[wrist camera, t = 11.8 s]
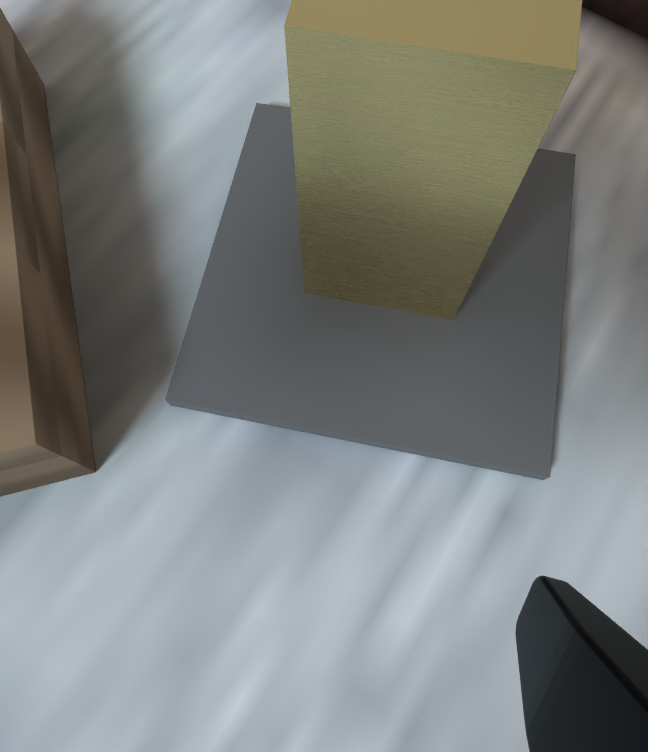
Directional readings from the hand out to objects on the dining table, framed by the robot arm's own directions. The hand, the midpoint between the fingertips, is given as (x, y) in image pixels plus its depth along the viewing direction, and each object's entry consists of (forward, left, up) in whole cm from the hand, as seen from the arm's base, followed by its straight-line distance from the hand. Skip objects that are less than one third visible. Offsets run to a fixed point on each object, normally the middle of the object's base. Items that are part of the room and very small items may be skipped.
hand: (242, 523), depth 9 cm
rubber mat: (+1, -10, -9) cm, 13 cm away
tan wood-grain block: (+1, -10, -8) cm, 13 cm away
